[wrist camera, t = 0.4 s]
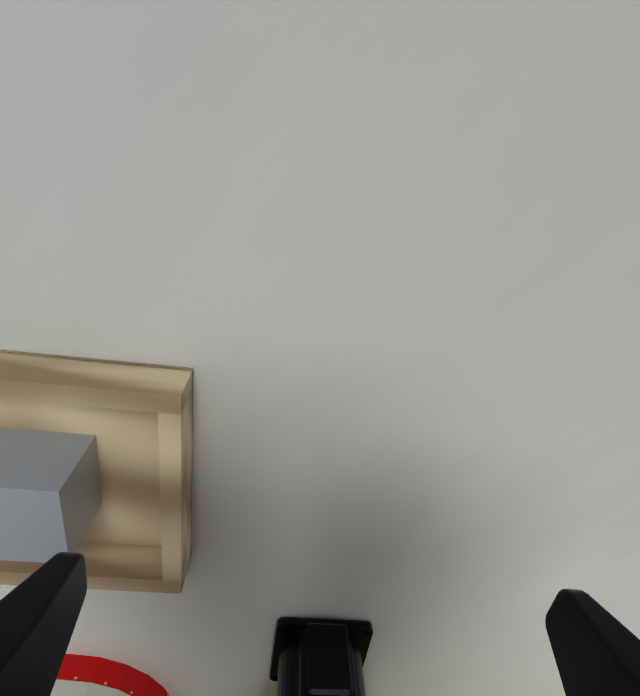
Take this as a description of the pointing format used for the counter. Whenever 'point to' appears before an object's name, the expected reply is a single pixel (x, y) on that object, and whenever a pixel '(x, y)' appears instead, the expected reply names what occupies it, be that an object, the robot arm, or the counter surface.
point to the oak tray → (115, 460)
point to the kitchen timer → (102, 679)
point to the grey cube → (46, 492)
